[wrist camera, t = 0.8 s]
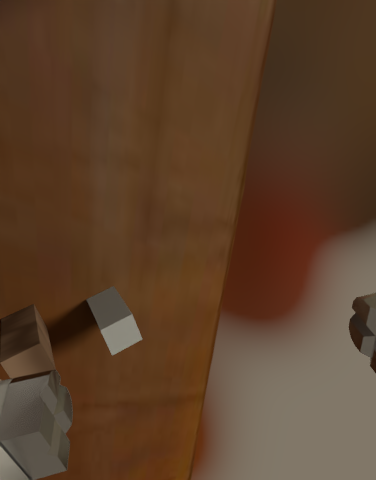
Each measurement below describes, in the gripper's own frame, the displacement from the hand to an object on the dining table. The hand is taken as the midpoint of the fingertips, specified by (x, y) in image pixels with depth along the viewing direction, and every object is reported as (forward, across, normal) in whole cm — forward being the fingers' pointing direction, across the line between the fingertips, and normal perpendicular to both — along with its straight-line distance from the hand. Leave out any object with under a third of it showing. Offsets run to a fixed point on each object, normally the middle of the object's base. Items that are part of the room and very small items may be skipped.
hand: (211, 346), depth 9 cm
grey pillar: (+35, +11, +28) cm, 46 cm away
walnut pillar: (+32, +22, +26) cm, 46 cm away
